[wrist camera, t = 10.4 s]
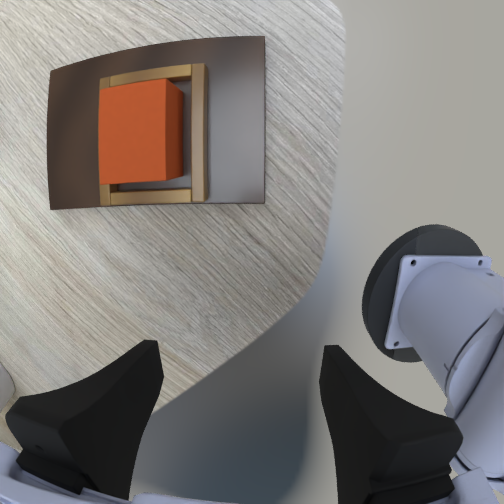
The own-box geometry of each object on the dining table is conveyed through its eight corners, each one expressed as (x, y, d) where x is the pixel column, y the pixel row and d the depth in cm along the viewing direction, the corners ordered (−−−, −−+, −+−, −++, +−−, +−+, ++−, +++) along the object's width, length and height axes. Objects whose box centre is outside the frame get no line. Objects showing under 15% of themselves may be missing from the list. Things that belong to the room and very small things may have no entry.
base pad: (264, 41, 17) (264, 28, 15) (264, 201, 20) (265, 206, 18) (57, 72, 17) (41, 67, 15) (57, 207, 20) (40, 213, 18)
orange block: (183, 91, 17) (166, 78, 14) (183, 176, 19) (165, 180, 15) (125, 98, 17) (99, 89, 14) (125, 179, 19) (99, 185, 15)
